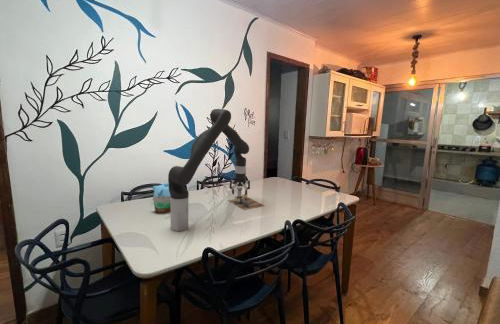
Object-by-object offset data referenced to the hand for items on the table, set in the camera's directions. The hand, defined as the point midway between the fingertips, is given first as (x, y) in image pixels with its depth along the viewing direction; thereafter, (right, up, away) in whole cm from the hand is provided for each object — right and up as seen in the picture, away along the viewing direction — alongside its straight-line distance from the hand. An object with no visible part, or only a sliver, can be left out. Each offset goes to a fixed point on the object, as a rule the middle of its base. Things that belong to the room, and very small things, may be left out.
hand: (239, 194), depth 172 cm
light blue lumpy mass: (-51, -5, 0) cm, 51 cm away
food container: (-47, -9, -21) cm, 52 cm away
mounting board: (+5, -7, +1) cm, 9 cm away
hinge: (+4, -6, +1) cm, 8 cm away
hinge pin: (0, -6, +1) cm, 6 cm away
